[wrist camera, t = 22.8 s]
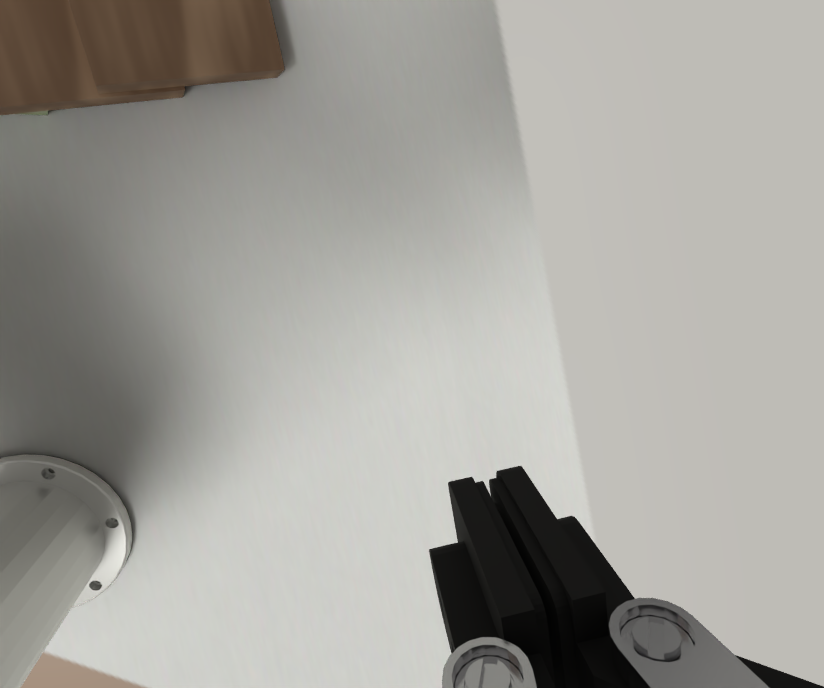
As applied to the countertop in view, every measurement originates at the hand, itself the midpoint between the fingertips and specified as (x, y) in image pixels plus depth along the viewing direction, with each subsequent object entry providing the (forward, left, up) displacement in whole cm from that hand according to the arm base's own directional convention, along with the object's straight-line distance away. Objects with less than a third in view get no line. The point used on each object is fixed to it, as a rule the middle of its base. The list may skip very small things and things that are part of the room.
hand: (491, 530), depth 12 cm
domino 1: (-10, +17, -26) cm, 33 cm away
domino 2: (-4, +18, -26) cm, 32 cm away
